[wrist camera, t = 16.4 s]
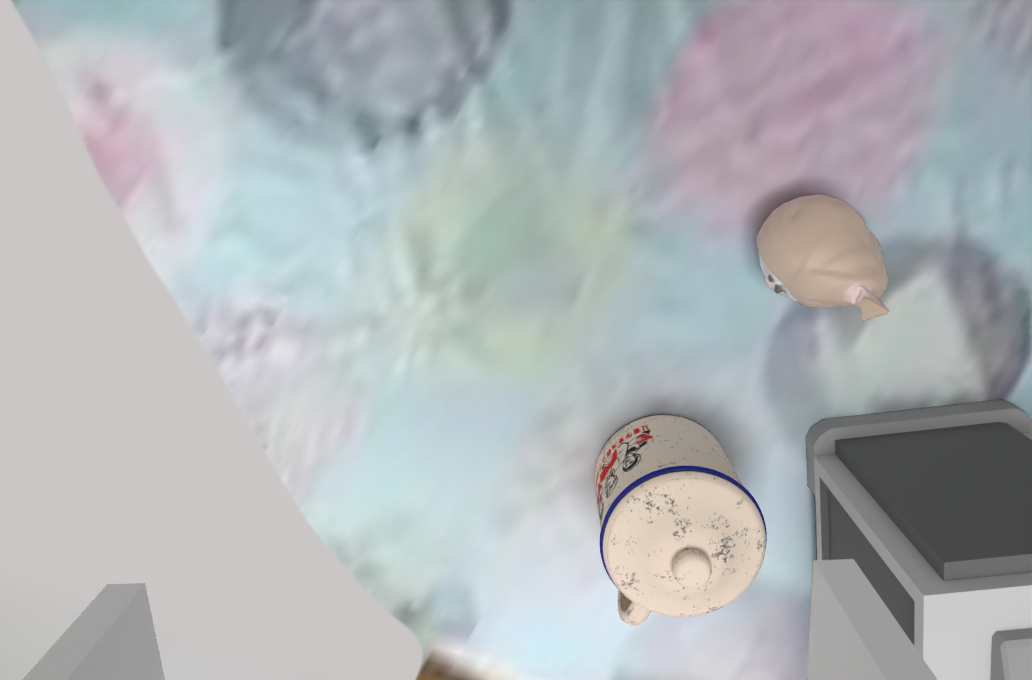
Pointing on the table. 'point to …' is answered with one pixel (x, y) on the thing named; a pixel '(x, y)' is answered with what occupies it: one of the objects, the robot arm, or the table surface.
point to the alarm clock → (936, 526)
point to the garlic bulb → (823, 255)
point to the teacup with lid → (674, 520)
